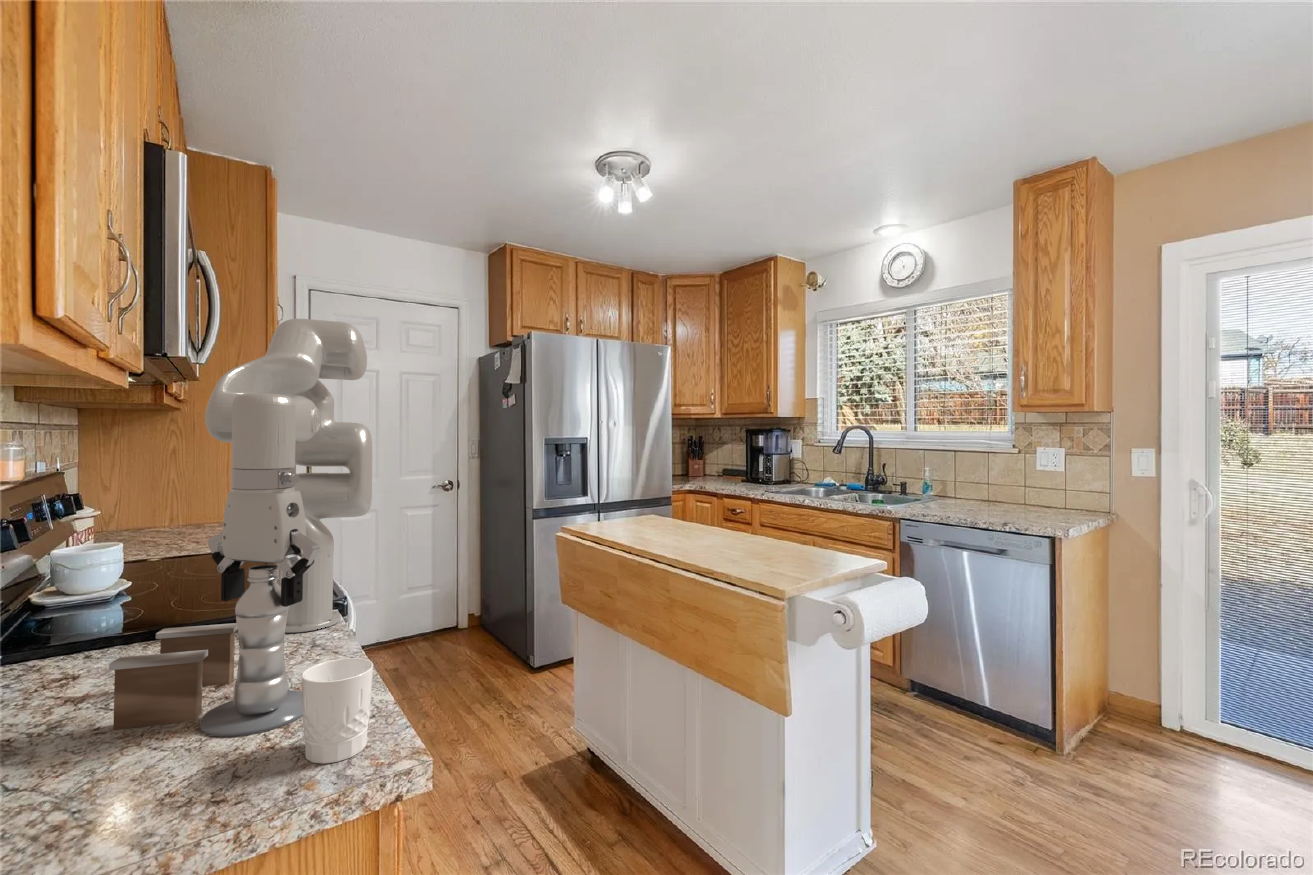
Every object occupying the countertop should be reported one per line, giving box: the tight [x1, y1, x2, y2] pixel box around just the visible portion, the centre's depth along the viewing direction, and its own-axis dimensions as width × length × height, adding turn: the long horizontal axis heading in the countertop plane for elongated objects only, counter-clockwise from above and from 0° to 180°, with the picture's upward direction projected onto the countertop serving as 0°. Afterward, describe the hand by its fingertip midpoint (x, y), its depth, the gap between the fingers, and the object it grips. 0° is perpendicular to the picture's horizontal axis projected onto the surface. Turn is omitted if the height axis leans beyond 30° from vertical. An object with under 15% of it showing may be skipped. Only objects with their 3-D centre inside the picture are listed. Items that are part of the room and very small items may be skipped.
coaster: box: [199, 689, 303, 738], centre depth 82 cm, size 13×13×1 cm
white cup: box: [301, 657, 374, 765], centre depth 73 cm, size 8×8×10 cm
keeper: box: [108, 622, 238, 731], centre depth 86 cm, size 16×10×9 cm, turn 20°
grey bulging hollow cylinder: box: [232, 564, 289, 715], centre depth 82 cm, size 6×7×20 cm
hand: (262, 601), depth 83 cm, fingers open, 9 cm apart
